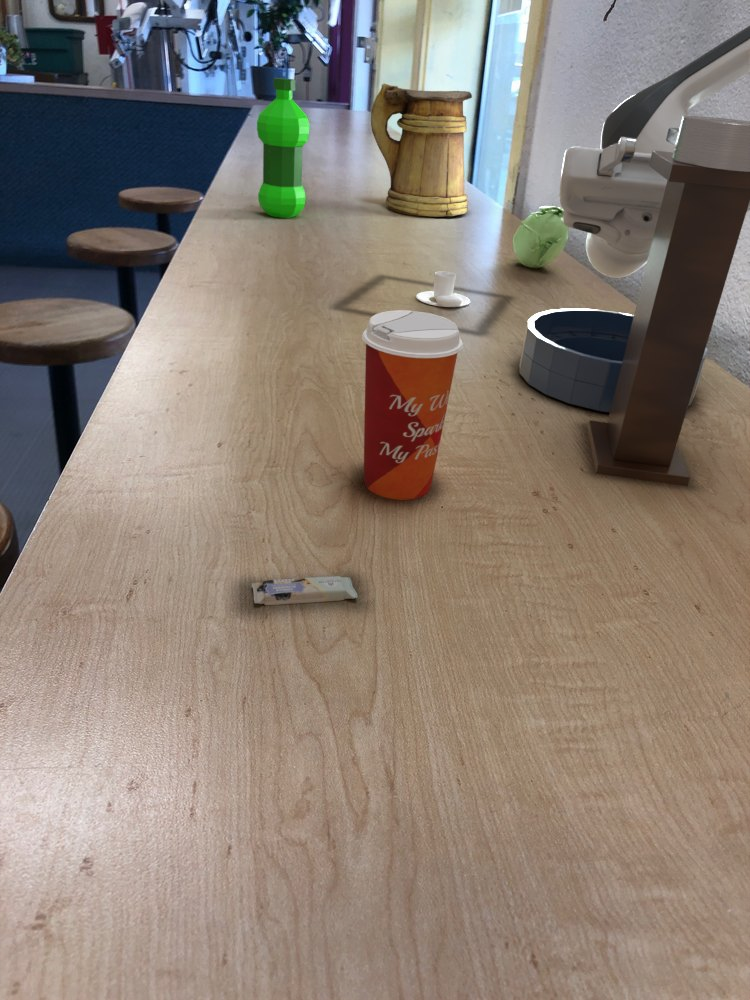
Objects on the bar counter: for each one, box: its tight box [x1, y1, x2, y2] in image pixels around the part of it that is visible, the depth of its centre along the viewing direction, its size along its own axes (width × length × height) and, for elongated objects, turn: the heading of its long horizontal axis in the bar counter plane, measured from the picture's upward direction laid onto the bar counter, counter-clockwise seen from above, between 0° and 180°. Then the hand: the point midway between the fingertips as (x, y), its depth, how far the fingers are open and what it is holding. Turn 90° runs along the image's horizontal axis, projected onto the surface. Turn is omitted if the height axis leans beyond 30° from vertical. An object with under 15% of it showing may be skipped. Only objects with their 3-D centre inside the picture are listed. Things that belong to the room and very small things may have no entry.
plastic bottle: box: [256, 77, 311, 219], centre depth 155 cm, size 10×10×25 cm
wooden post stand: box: [586, 150, 750, 487], centre depth 68 cm, size 8×10×26 cm
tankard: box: [370, 83, 473, 218], centre depth 174 cm, size 18×24×25 cm
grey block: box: [666, 115, 750, 172], centre depth 66 cm, size 7×22×3 cm, turn 171°
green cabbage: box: [512, 205, 570, 269], centre depth 135 cm, size 12×11×11 cm
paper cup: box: [361, 309, 464, 501], centre depth 62 cm, size 8×8×14 cm
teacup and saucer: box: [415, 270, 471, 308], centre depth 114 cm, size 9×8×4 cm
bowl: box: [518, 308, 709, 413], centre depth 89 cm, size 20×20×6 cm
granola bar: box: [251, 575, 358, 606], centre depth 51 cm, size 7×2×1 cm, turn 101°
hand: (678, 149), depth 75 cm, fingers open, 8 cm apart
